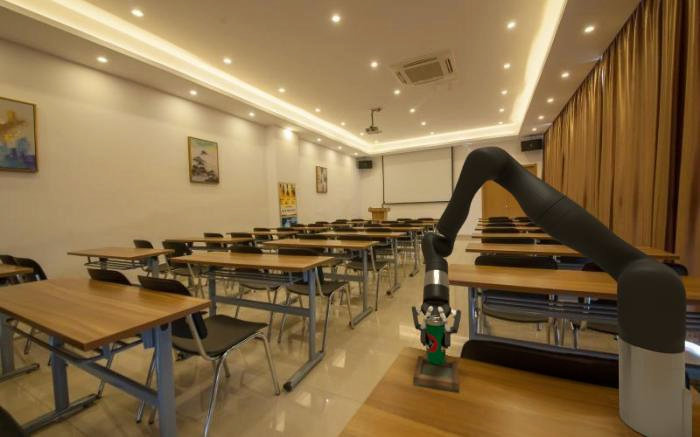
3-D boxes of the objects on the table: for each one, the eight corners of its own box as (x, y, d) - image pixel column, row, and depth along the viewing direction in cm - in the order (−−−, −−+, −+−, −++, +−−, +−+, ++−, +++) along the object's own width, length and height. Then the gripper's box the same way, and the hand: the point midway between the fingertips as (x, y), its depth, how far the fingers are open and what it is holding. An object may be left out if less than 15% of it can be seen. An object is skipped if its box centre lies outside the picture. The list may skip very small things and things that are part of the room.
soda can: (447, 367, 75) (445, 322, 75) (427, 365, 76) (425, 321, 76) (444, 357, 80) (443, 314, 80) (426, 355, 81) (424, 314, 81)
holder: (458, 368, 82) (457, 360, 82) (458, 392, 71) (458, 383, 71) (418, 363, 85) (418, 355, 85) (413, 385, 75) (413, 376, 75)
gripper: (410, 281, 87) (406, 338, 76) (461, 283, 82) (464, 344, 71) (413, 293, 92) (409, 348, 81) (461, 296, 87) (464, 354, 77)
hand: (435, 346), depth 76 cm, fingers closed on soda can, 5 cm apart
